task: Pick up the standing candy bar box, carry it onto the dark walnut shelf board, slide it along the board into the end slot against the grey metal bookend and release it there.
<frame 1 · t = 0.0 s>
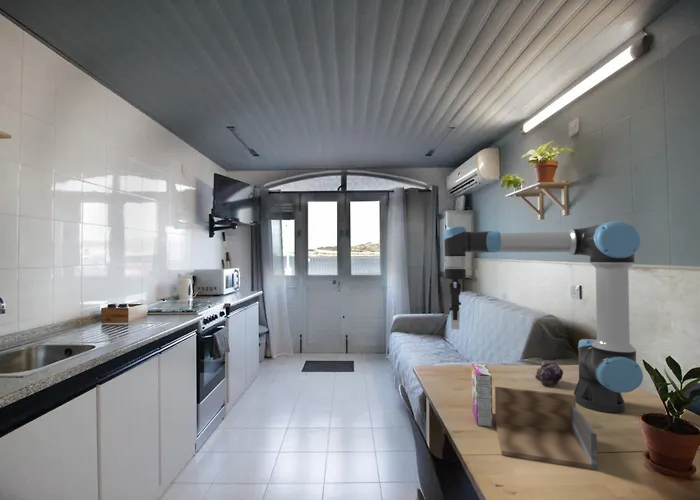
hand: (455, 325, 129), 28 cm above the table, fingers open, 13 cm apart
shelf: (540, 444, 99), on the table
candy bar box: (481, 419, 115), on the table
rock: (549, 383, 147), on the table
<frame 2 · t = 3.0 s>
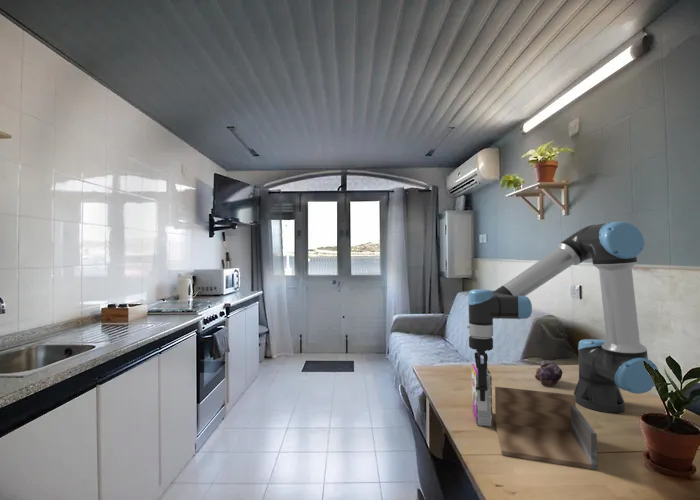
hand: (481, 402, 115), 5 cm above the table, fingers closed on candy bar box, 11 cm apart
candy bar box: (481, 419, 115), on the table, touching gripper
everything else where it was.
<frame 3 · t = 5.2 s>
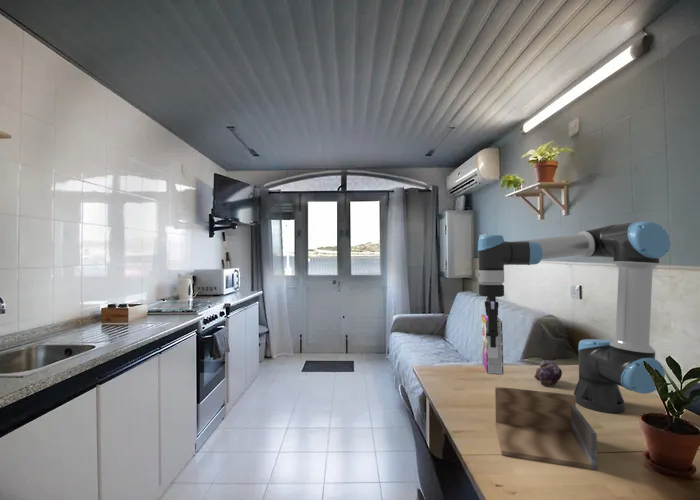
hand: (492, 352, 111), 23 cm above the table, fingers closed on candy bar box, 11 cm apart
candy bar box: (492, 369, 111), point 18 cm above the table, touching gripper
everything else where it was.
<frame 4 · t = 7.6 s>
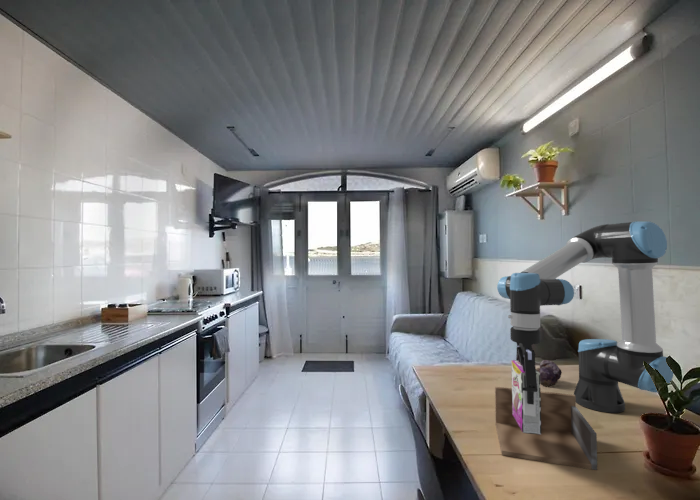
hand: (525, 406, 98), 12 cm above the table, fingers closed on candy bar box, 11 cm apart
candy bar box: (525, 425, 98), point 6 cm above the table, touching gripper
everything else where it was.
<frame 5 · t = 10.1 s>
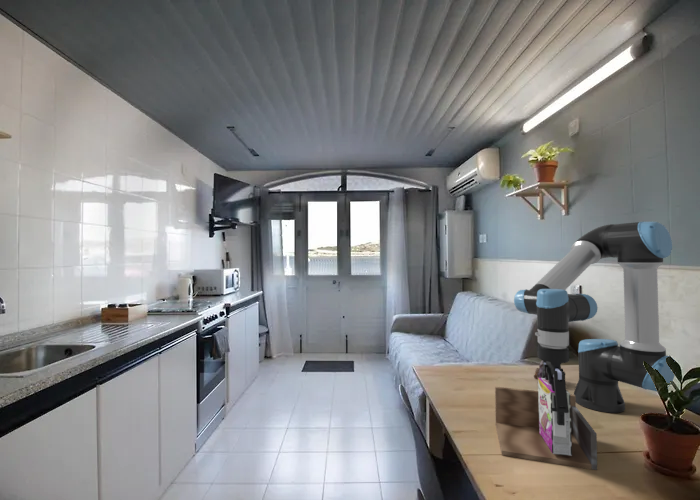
hand: (554, 425, 96), 7 cm above the table, fingers closed on candy bar box, 11 cm apart
candy bar box: (554, 445, 96), point 2 cm above the table, touching gripper
everything else where it was.
when the fingers open (7 cm above the table, at t = 12.4 s): candy bar box stays where it is, resting on shelf.
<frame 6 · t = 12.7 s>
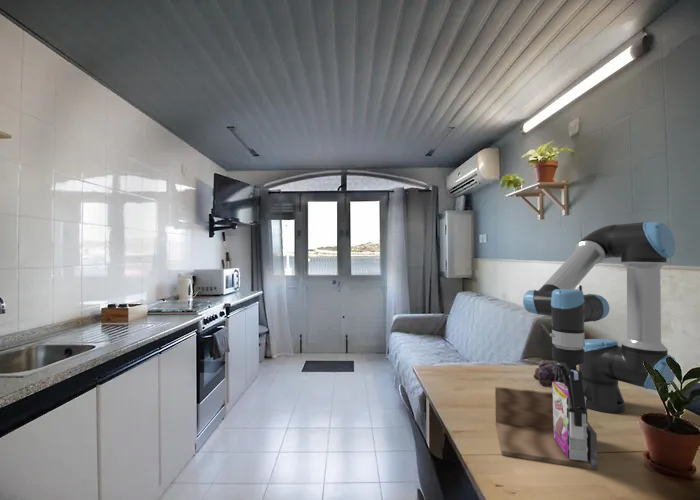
hand: (569, 425, 94), 8 cm above the table, fingers open, 13 cm apart
candy bar box: (569, 450, 94), point 1 cm above the table, touching shelf
everything else where it was.
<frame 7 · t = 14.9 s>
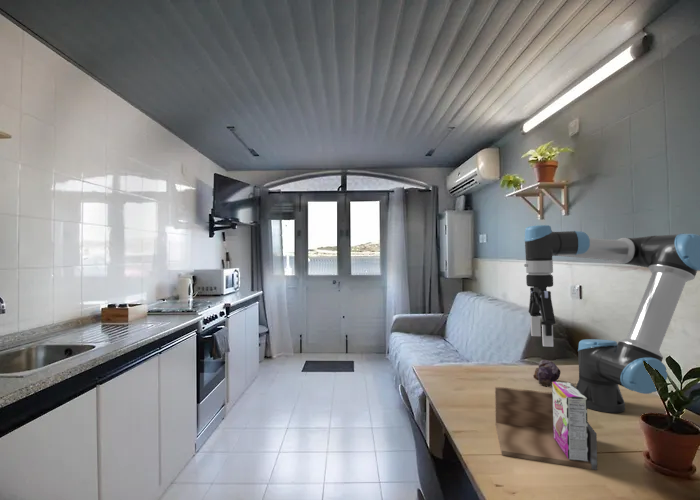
hand: (541, 340, 111), 27 cm above the table, fingers open, 13 cm apart
nothing on the table moved.
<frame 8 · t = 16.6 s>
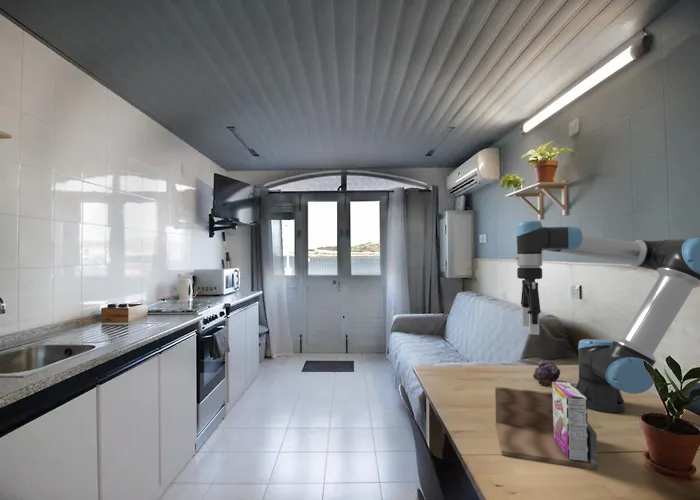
hand: (530, 330, 118), 29 cm above the table, fingers open, 13 cm apart
at the end: candy bar box inside the target area (0.5 cm from its centre), point 1.0 cm above the table; candy bar box tilted 0°; the gripper is holding nothing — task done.
